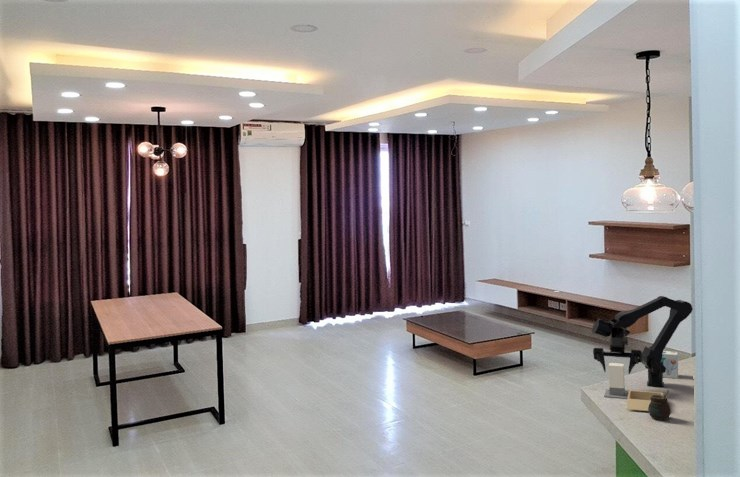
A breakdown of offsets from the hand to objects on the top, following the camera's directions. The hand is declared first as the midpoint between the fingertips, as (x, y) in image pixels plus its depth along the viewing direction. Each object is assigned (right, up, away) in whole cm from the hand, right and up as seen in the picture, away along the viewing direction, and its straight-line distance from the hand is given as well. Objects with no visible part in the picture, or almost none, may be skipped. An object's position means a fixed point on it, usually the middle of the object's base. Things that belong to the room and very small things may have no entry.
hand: (616, 372), depth 250 cm
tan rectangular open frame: (+5, -9, -15) cm, 18 cm away
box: (0, -9, -1) cm, 9 cm away
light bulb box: (+32, -7, +25) cm, 41 cm away
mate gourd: (+3, -10, -31) cm, 32 cm away
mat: (0, -9, 0) cm, 9 cm away
